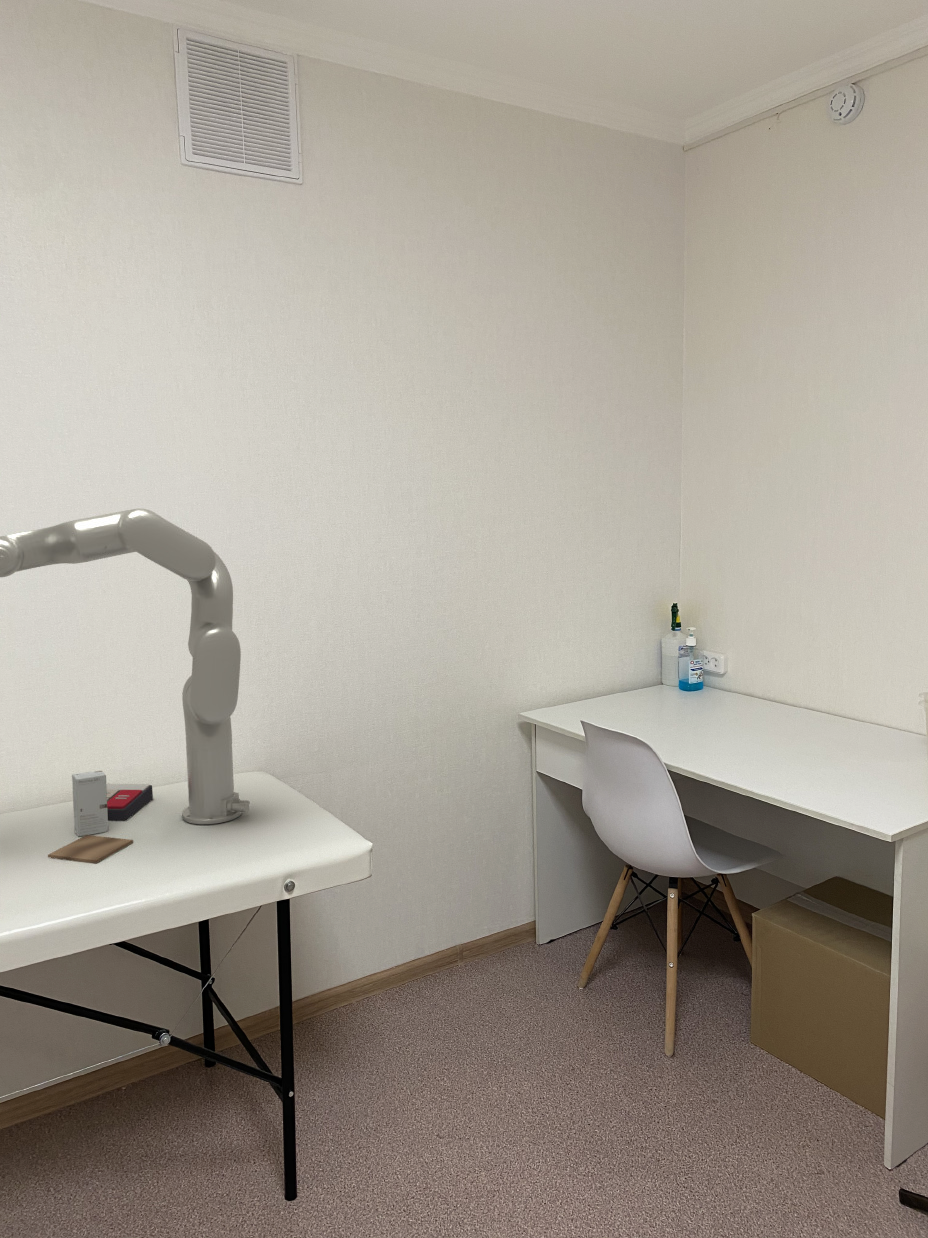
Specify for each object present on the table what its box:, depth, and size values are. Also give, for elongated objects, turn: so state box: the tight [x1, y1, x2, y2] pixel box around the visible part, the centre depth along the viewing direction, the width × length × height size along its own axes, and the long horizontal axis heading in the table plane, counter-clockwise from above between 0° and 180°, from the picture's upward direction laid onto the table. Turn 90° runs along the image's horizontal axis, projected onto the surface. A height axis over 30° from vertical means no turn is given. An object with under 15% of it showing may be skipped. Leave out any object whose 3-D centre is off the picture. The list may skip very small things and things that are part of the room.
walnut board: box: [47, 834, 134, 864], centre depth 179 cm, size 11×11×1 cm
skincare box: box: [71, 770, 109, 837], centre depth 189 cm, size 6×4×12 cm
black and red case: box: [106, 783, 154, 822], centre depth 203 cm, size 11×4×15 cm
